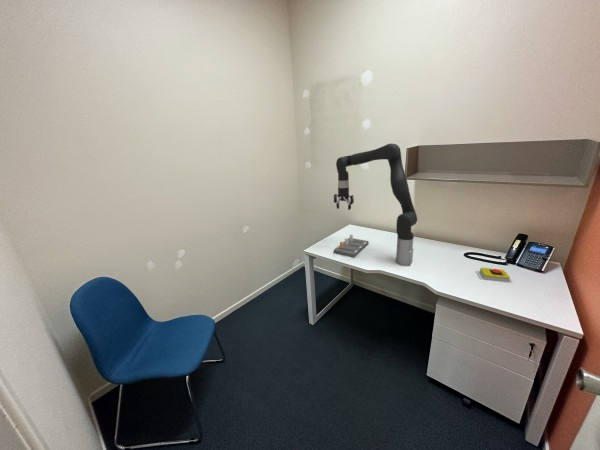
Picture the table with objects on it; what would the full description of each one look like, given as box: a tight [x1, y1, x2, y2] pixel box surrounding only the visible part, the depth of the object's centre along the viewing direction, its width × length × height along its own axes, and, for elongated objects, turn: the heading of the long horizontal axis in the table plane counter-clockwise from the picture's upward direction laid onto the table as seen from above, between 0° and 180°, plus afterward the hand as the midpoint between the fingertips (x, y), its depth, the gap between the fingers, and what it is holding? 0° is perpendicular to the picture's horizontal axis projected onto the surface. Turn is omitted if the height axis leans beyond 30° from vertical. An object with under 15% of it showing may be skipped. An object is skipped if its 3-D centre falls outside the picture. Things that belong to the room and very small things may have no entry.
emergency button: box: [474, 267, 513, 283], centre depth 138 cm, size 9×4×15 cm
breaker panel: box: [333, 234, 370, 259], centre depth 184 cm, size 16×26×7 cm, turn 144°
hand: (343, 209), depth 178 cm, fingers open, 8 cm apart
